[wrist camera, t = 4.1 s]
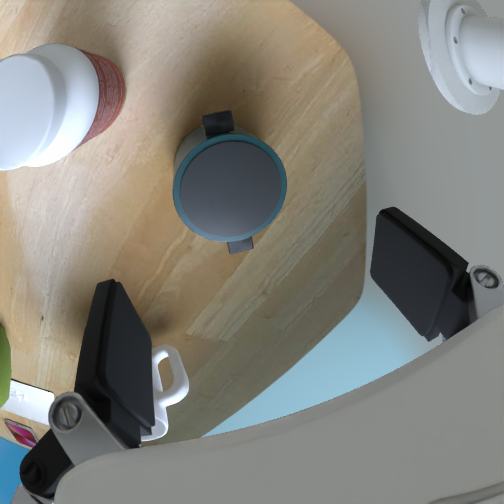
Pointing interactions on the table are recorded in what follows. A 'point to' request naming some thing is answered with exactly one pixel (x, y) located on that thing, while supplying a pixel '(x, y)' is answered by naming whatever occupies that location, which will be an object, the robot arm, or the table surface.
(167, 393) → the mug
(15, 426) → the smartphone
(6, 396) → the apple
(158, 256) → the table surface
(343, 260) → the table surface
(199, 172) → the pot
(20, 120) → the pill bottle
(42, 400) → the paper
